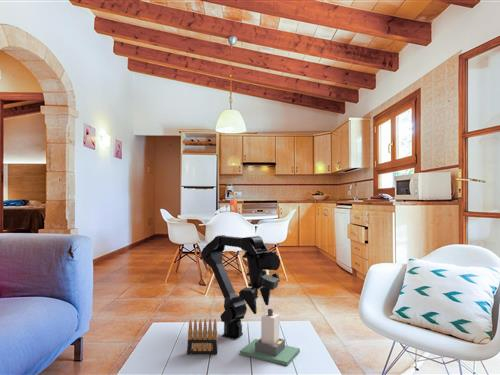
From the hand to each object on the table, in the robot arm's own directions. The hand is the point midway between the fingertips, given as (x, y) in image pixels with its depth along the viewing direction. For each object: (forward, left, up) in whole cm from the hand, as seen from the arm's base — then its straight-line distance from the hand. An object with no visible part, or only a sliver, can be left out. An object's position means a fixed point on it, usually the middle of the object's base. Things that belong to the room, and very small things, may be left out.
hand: (261, 309), depth 127 cm
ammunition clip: (-14, -18, -13) cm, 26 cm away
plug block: (+7, -6, -12) cm, 15 cm away
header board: (+7, -6, -13) cm, 15 cm away
